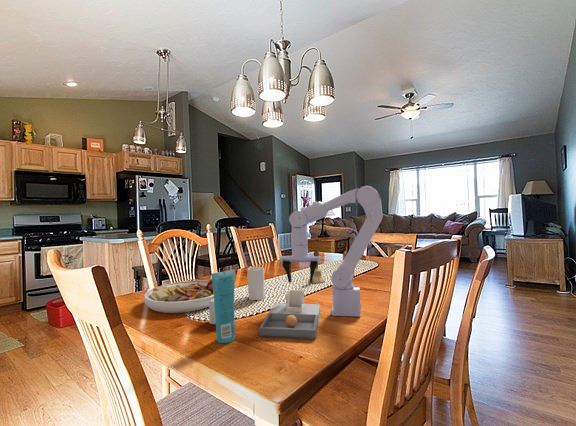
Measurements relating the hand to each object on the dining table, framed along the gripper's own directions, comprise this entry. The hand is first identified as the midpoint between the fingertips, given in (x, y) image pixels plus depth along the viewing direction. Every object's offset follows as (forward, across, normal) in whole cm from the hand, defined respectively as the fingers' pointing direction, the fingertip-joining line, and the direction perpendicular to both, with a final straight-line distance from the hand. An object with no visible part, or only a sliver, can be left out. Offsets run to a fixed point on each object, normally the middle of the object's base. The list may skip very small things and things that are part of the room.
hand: (300, 282), depth 109 cm
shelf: (+9, +1, +8) cm, 12 cm away
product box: (+10, +24, +15) cm, 30 cm away
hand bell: (+10, -3, -39) cm, 40 cm away
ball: (+7, +1, +18) cm, 19 cm away
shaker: (+7, +1, +7) cm, 10 cm away
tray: (+9, +1, +19) cm, 21 cm away
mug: (+10, +20, -11) cm, 25 cm away
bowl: (+10, +46, -3) cm, 47 cm away
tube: (+10, +18, +28) cm, 35 cm away
